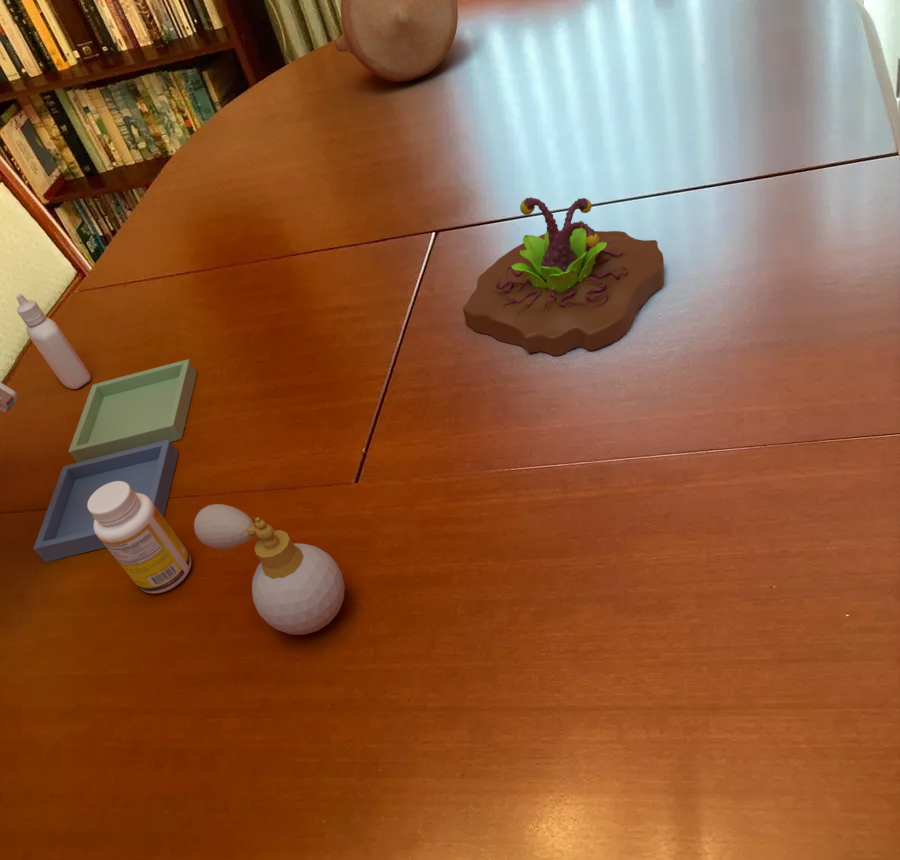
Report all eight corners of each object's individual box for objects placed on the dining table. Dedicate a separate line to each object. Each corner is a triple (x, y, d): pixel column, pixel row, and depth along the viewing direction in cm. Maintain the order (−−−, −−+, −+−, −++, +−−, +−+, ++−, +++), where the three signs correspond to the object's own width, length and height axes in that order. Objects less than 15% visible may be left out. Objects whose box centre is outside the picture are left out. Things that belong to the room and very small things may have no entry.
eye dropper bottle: (59, 397, 109) (-2, 313, 101) (62, 373, 113) (4, 291, 104) (91, 385, 109) (34, 300, 100) (93, 362, 113) (38, 278, 104)
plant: (535, 239, 105) (517, 144, 97) (689, 256, 94) (684, 151, 86) (441, 338, 96) (412, 243, 88) (598, 368, 86) (583, 264, 78)
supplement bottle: (159, 549, 85) (102, 471, 78) (204, 555, 83) (150, 475, 76) (127, 592, 82) (65, 516, 75) (173, 600, 80) (114, 522, 73)
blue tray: (44, 562, 89) (32, 548, 87) (73, 479, 97) (62, 466, 95) (159, 535, 87) (149, 521, 85) (178, 453, 95) (169, 439, 94)
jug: (321, 40, 136) (301, 18, 158) (420, 117, 145) (388, 87, 168) (393, -93, 128) (361, -95, 150) (492, -1, 138) (448, -17, 160)
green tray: (78, 465, 99) (67, 451, 97) (101, 397, 107) (92, 384, 105) (181, 439, 97) (172, 425, 95) (197, 372, 105) (189, 358, 103)
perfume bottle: (353, 642, 71) (298, 541, 63) (242, 662, 73) (173, 567, 64) (357, 574, 76) (306, 472, 67) (253, 594, 78) (190, 497, 69)
